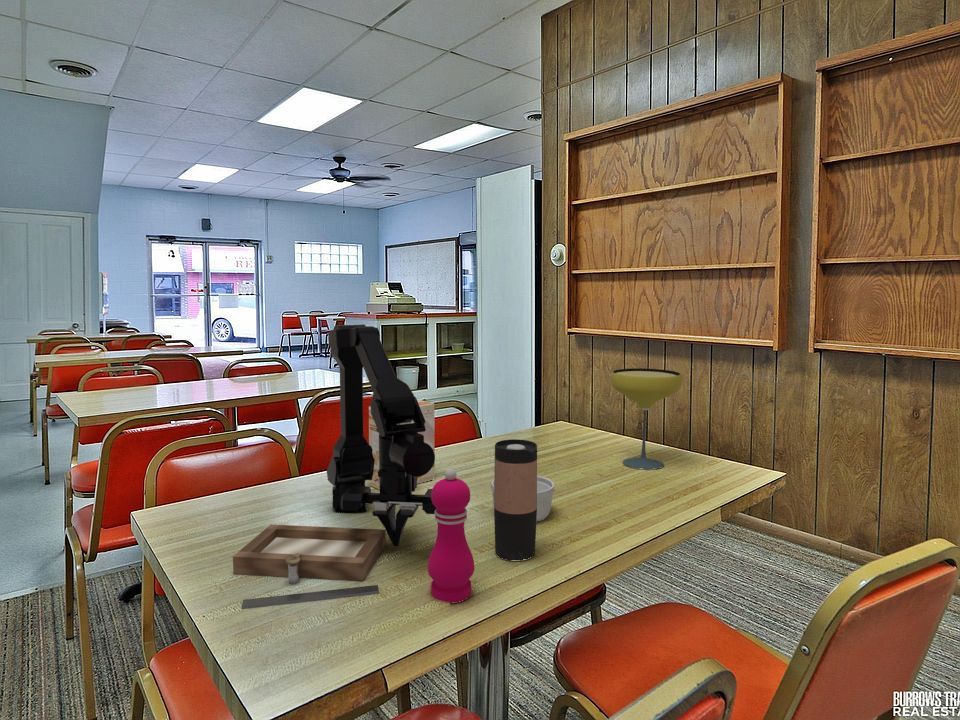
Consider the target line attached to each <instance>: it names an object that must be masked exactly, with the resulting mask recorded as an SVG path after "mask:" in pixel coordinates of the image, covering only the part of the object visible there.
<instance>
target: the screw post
mask: <svg viewBox="0 0 960 720" xmlns="http://www.w3.org/2000/svg"><path fill="white" fill-rule="evenodd" d="M287 578H288V584H289V585H297V584H299V582H300V578H299V567H298V563H297V564H293V565H289V564H288V577H287Z"/></svg>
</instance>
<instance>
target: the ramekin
mask: <svg viewBox="0 0 960 720" xmlns="http://www.w3.org/2000/svg"><path fill="white" fill-rule="evenodd" d="M490 490H491V492H492V502H493V503H492V504H493V505H494V478H493V479H492V480H491V483H490ZM554 492H555V483H554V482H553V481H552V480H551V479H549V478H547V477H544V476H541V475H537V519H536V523H538V522H537V521H540V522H542V521H544V520H545V519H546V518H547V517H548V516H549V515H550V512H551V509H552V501H553V495H554ZM543 519H544V520H543ZM541 520H542V521H541Z"/></svg>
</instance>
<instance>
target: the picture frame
mask: <svg viewBox="0 0 960 720" xmlns="http://www.w3.org/2000/svg"><path fill="white" fill-rule="evenodd" d="M386 535H387V531H386V529H379V528H378V529H377V528H376V529H375V528H357V527H334V526H333V527H332V526H331V527H330V526H312V525H290V524H288V525H287V524H273V523H272V524H271V523H270V524H269V525H268V526H267V527H266V528H265V529H264V530H262V531H261V532H260V533H258V535H256V536H255V537H254V538H252V540H250V542H248V543H247V544H246V545H244V547H242V548H241V549H240V550H239V551H237V552H236V553H235V554H233V556H232V570H233V571H232V572H233V575H243V576H244V575H245V576H264V577H265V576H266V577H282V578H288V564H289V565H293V564H297V563H298V567H299V579H301V578H302V579H317V580H319V579H320V580H335V581H336V580H339V581H354V582H356V581H357V582H364V580H365V579H366V578H367V576H368V575H369V573H370V572H371V570H372V568H373V567H374V565H375V564H376V562H377V560H378V559H379V557H380V555H381V554H382V552H383V551H384V549H385V548H386V546H387V537H386Z"/></svg>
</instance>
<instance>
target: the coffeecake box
mask: <svg viewBox="0 0 960 720" xmlns="http://www.w3.org/2000/svg"><path fill="white" fill-rule="evenodd" d="M417 401H418V404H419V406H420V409H421V411H422V414H423V416H424V419H425V421H426V422H425V424H424V425H425V428H426V431H425V432H418V434H422V435H424V442H425V443H427V444H429V445H430V446H431V447H432V449H433V451H434V454H435V448H436V447H435V444H436V443H435V440H436V439H435V429H436V428H435V403H434V402H431V401H426V400H422V399H417ZM410 423H414V421H413V420H412V422H410ZM401 424H408V423H401ZM397 425H400V424H397ZM376 429H377V426H376V424H375V422H374V420H373V417H372V414H371V405H370V406H368V444H369V445H370V446H371V447H372V454H373V457H374V459H375V463H374V471H373V477H372V480H369V486H370V487H373V488H375V489H377V490H378V491H380V484H379V477H378V471H379V433H378V432H377V431H376ZM435 455H436V454H435ZM435 464H436V461H435V462H434V465H433V467H432V468H431V470H430V471H429V472H428V473H426V474H425V475H423V476H419V477H417V485H419V483H420V484H424V483H427V482H426V481H428V482H430V480H432V481H434V480H433V479H435V478H436V476H435V475H436V474H435V469H436V468H435ZM423 482H424V483H423Z"/></svg>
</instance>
